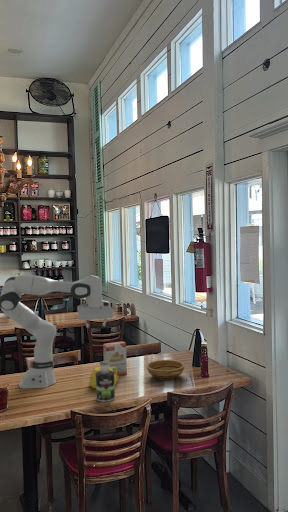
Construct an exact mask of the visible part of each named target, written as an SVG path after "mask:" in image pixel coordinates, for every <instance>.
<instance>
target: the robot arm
mask: <svg viewBox="0 0 288 512" xmlns="http://www.w3.org/2000/svg"><path fill="white" fill-rule="evenodd" d="M53 292H57V293H58V292H59V293H60V292H61V293H68V294H69V293H70V294H71V296H72V297H73V298H75V299H79V300H81V299H84V298H86V299H87V303H84V304H83V303H81V304H79V305H77V306H76V307H77V308H76V310H77V320H79V321H81V322H82V321H83V322H84V324H85V326H86V327H85V328H87V329H89V328H90V324H89V323H88V321H92V320H94V321H95V320H104V321H103V322H102V327H106V323H107V321H108V319H112V318H113V317H114V312H113V308H112V306H111V304H112V303H111V302H110V301H108V300H105V299H104V298H103V284H102V279H101V277H99V276H97V275H92V274H90V275H88V276H86V277H84V278H83V279H78V280H75V281H64V280H55V279H51V278H49V277H45V276H40V275H35V274H33V275H32V274H22V275H21V274H20V275H19V274H18V275H17V276H11V277H8V278H7V279H6V280H5V282H4V284H3V286H2V288H1V292H0V309H1V311H2V312H3V313H4V314H5V316H7V317H8V318H10V319H11V320H12V321H14V322H15V323H16V324H18V325H19V326H20V327H22V328H23V329H25V330H26V331H27V332H28V333H29V334H31V335H32V336H33V337H36V341H35V342H36V343H35V346H34V348H33V356H34V357H33V360H30V368H28V369H27V370H26V371H25V373H23V375H22V379H21V380H20V382H19V383H18V388H19V387H20V389H21V388H22V390H23V389H24V388H26V389H40V388H41V389H45V388H48V387H49V386H53V385H54V384H56V382H57V379H56V377H55V376H56V375H55V371H54V368H55V363H54V358H53V345H54V338H55V337H56V335H57V328H56V326H55V325H54V324H53V323H52V322H51V321H50V322H49V321H47V320H44V319H42V318H41V317H40V316H38V315H37V314H36V313H35V311H33V310H32V309H31V308H30V307H28V306H27V305H26V304H24V303H22V302H21V301H20V300H21V297H22V295H32V296H42V295H43V296H44V295H48V294H51V293H53Z"/></svg>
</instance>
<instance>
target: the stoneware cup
mask: <svg viewBox="0 0 288 512" xmlns="http://www.w3.org/2000/svg"><path fill="white" fill-rule="evenodd" d="M99 367H100V374H102V375H106V374H109V361H104V360H103V361H100V362H99Z"/></svg>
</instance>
